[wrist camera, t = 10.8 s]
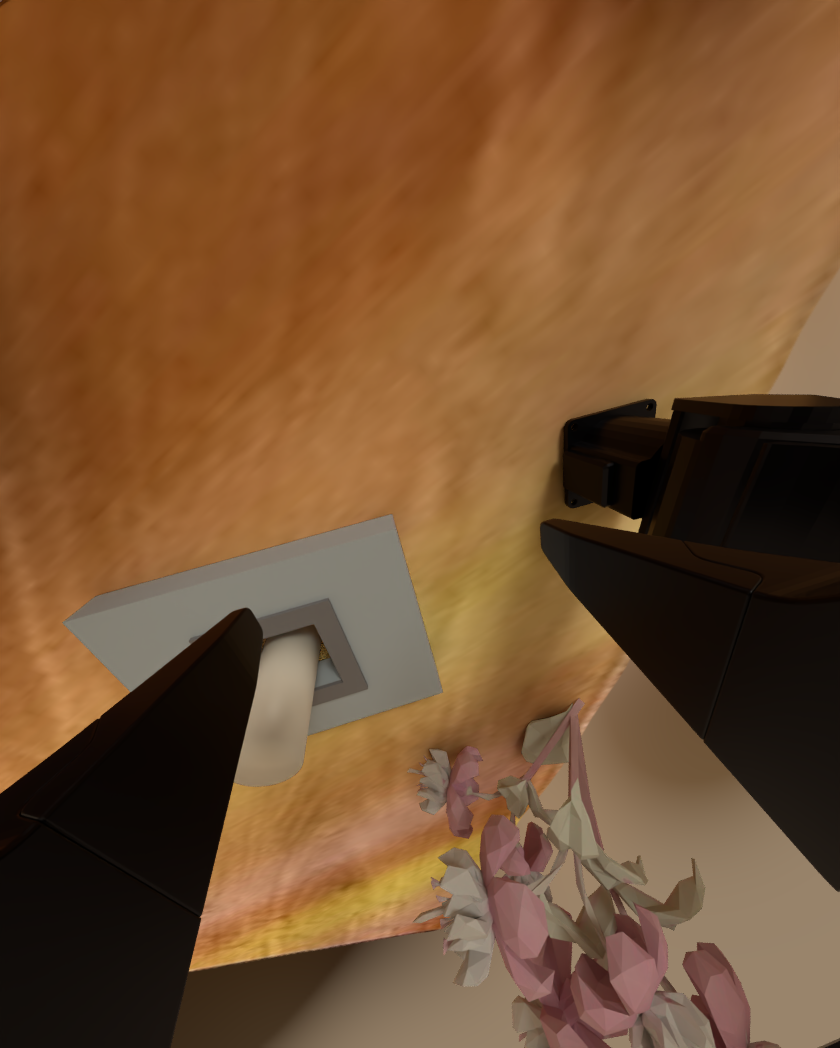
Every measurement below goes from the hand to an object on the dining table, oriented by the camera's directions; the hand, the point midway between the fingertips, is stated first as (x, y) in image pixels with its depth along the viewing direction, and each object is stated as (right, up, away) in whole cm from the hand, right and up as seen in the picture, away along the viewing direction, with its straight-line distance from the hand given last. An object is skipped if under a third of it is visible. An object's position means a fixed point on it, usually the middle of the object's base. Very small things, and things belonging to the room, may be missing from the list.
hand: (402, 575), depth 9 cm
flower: (+8, -23, +26) cm, 35 cm away
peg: (-9, -7, +15) cm, 19 cm away
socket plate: (-9, -8, +15) cm, 19 cm away
